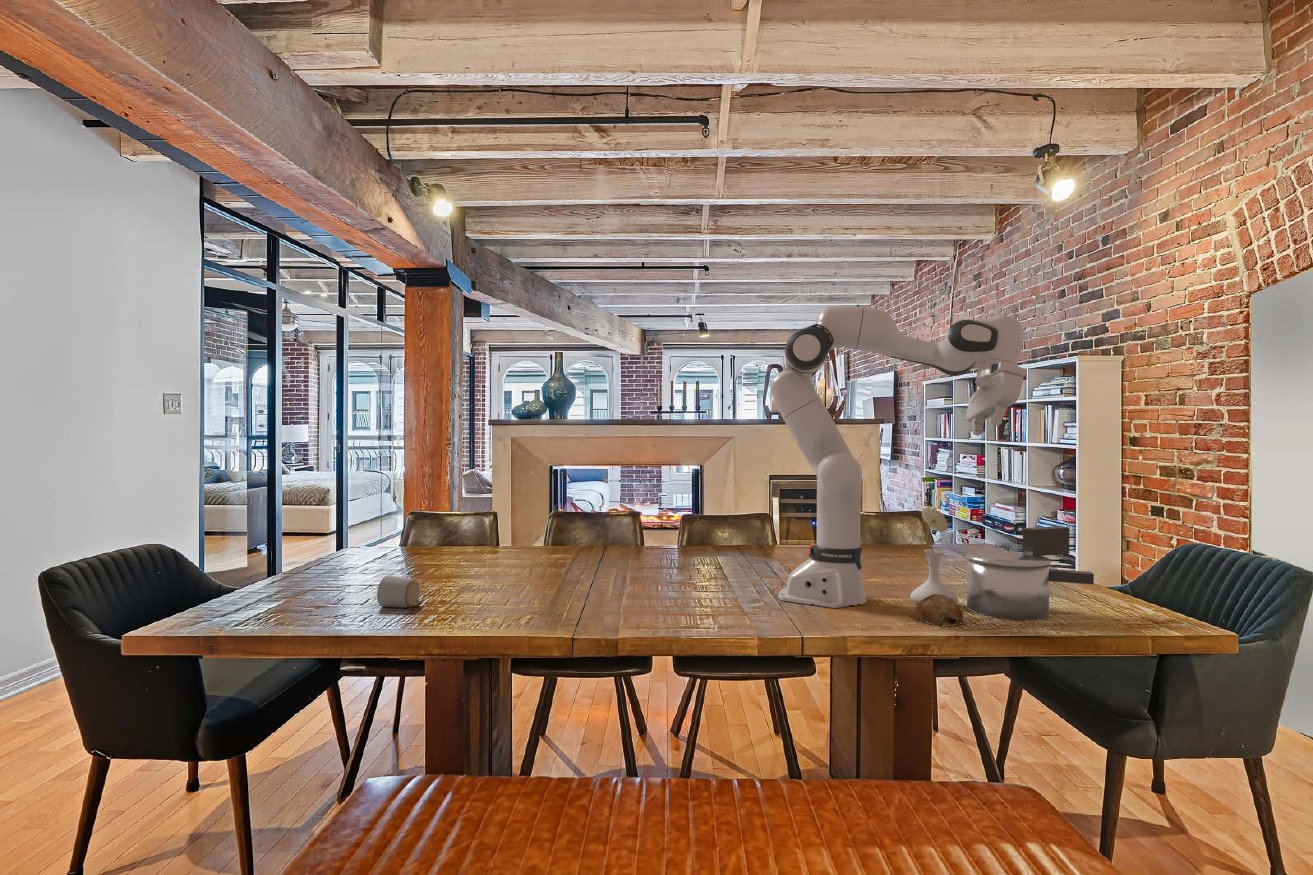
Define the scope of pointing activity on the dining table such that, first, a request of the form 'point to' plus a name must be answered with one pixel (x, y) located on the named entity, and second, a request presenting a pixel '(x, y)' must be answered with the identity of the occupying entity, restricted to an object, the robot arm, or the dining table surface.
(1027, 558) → the cooker lid
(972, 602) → the cooker pot
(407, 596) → the ceramic mug
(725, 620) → the dining table surface
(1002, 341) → the robot arm
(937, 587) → the flower in vase
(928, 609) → the bread roll
